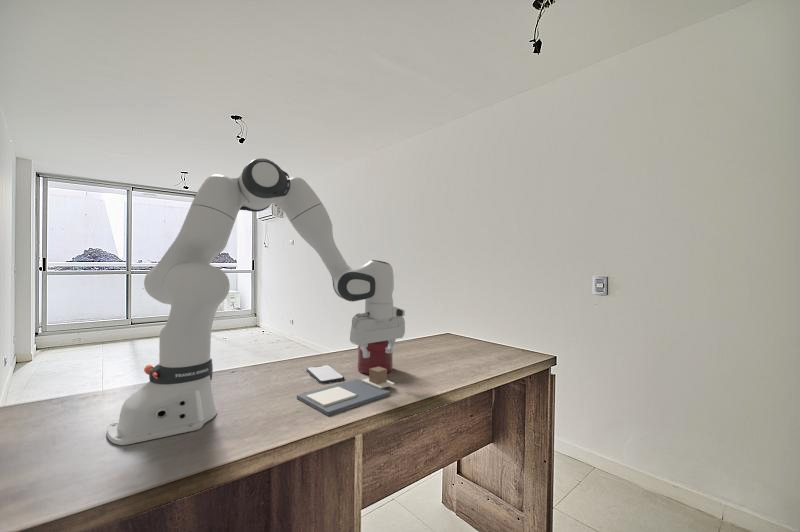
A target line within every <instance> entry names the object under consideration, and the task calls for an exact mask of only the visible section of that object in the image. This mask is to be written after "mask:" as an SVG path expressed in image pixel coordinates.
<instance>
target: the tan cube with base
mask: <svg viewBox="0 0 800 532" xmlns="http://www.w3.org/2000/svg"><path fill="white" fill-rule="evenodd" d="M361 380H362V382H364V383H366V384H369V385H371V386H374V387H377V388H379V389H385V388H387V387H388V388H389V387H391V386H394V385H395V382H392V381H390V380H389V379H388V373H387V369H385V368H382V367H375V368H371V369H369V374H368V377H367V378H363V379H361Z"/></svg>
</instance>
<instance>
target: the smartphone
mask: <svg viewBox="0 0 800 532" xmlns="http://www.w3.org/2000/svg"><path fill="white" fill-rule="evenodd" d="M307 372H308V373H309V374H310V375H309V374H308V373H307ZM306 373H307V374H308V375H309V376H310V377H312V378H313V379H314V380H315V379H316V380H317V381H318V382H317V381H316V380H315V381H316V382H317V383H319V384H320V383H326V384H330V383H329V382H332V383H336V381H338V382H342V381H341V380H343V381H345V376H344V375H342V374H341V373H340V372H339V371H337V370H336V369H334V367H332V366H331V365H329V364H324V365H318V366H316V365H315V366H311V367H307V368H306Z"/></svg>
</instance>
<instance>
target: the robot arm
mask: <svg viewBox="0 0 800 532" xmlns="http://www.w3.org/2000/svg"><path fill="white" fill-rule="evenodd" d="M196 192H197V193H196V194H195V195H194V197H193V200H192V202H191V204H190V207H189V209H188V211H187V214H186V217H185V219H184V221H183V223H182V226H181V228H180V230H179V232H178V234H177V236H176V237H175V239H174V241H173V242H171V245H170V246H169V247H168V249H167V250H166V252H165V253H164V255H163V256H162V257H161V259H160V260H159V261H158V263H157V264H156V265H154V266H153V267H152V268H150V270H148V271H147V273H146V275H145V278H144V281H143V284H144V285H143V286H144V289H145V292H146V293H147V294H148V295H149V296H150V298H152V299H154V300H156V301H157V302H159V303H162V304H166V305H170V311H169V315H168V318H167V322H166V323H165V325H164V327H162V328H161V330H160V332H159V346H158V347H159V360H158V361H159V363H158V364H156V365H155V366H153V365H152V364H147V365H145V366H144V367H143V368H144V369H143V372H144V373H145V374H146V375H149V376H148V378H149V381H148V382H147V383H145V384H144V385H143V386H141V388H140V389H138V390H137V391H135V392H134V393H133V394H132V395H130V396H129V397H127V398H126V400H124V401H123V404H122V406H121V409H120V413H119V417H118V418H119V419H116V420H113V421H112V422H111V423H110V424H109V425H108V426H107V431H106V436H107V439H108V441H110V442H111V443H113V444H115V445H119V446H126V445H127V446H128V445H131V444H136V443H142V442H146V441H151V440H152V441H153V440H155V439H160V438H164V437H165V438H166V437H169V436H174V435H179V434H183V433H189V432H194V431H199V430H200V429H201V428H203V426H204V425H205V424H206V423H207V422H209V421H210V420H212V419H214V417H216V416H217V413H218V410H217V408H216V405H215V401H214V396H213V394H214V393H213V389H212V380H213V375H214V373H213V372H214V369H213V368H214V367H213V366H214V365H213V359H212V358H211V343H212V342H211V339H212V326H213V322H214V319H215V316H216V314H217V310H218V309H219V306H220V304H222V303H223V302H224V301H225V300H226V299H227V297H228V294H229V291H230V280H229V278H228V275H227V274H226V272H225V271H223V270H222V269H221V268H218V267H216V266H214V265H211V263H212V262H213V260H214V259H215V258H216V257H218V255H220V254H221V253H222V252H223V251H224V250H225V248H226V247H227V244H228V242H229V239H230V236H231V233H232V230H233V227H234V224H236V223H235V222H236V219H237V216H238V214H239V212H240V211H247V212H248V211H249V212H254V213H259V212H262V211H265V210H267V209H268V208H269V207H270V206H271V205H275V206H276V207H278V208H280V210H282V211H283V213H285V215H286V217H287V219H288V220H289V221H288V222H290V224H291V225H292V227H293V228H294V230H295V231H296V232H297V233H298V235H299V236H300V237H301V238H302V239H303V240H304V241H305V242H306V243H307V244H308V245H309V246H310V247H311V248H313V250H314V251H315V252H316V253H317V254H318V256H319V257H320V258H321V260H322V262H323V264H324V266H325V267H326V269H327V270H328V272H329V274H330V276H331V279H332V281H331V282H332V287H333V290H334V292H335V294H336V295H337V296H338V297H339V298H340V299H343V300H344V301H348V302H352V303H354V302H358V301H364V300H365V304H364V305H365V306H364V308H365V309H364V312H363V313H360V312H359V313H356V314H355V315H354V316H353V317H352V319H351V326H350V327H351V328H350V333H349V341H350V343H351V344H352V345H356V346H359V345H360V348H361V350H362V352H363V358H369V357H370V352H368V351H367V348H366V347H368V343H374V342H380V341H386V340H388V342H389V344H388V347H386V353H388V354H389V353H392V348H393V349H394V346H395V344H396V341H397V339H403V337H405V333H406V332H405V331H406V321H405V318H404V317H405V314H406V310H404V309H402V308H400V307H396V306H394V300H393V293H394V289H395V288H394V287H395V283H394V282H395V281H394V279H395V278H394V277H395V276H394V268H393V266H392V265H391V264H390V263H389V262H387V261H382V260H376V259H370V260H368V261H367V262H366V263H364V264H362V265H360V266H357V267H356V268H351V266H349V265H348V263H347V262H346V260H345V259H344V257H343V255H342V253H341V251H340V250H339V248H338V247H337V244H336V243H335V239H334V235H333V234H334V232H333V224H332V220H331V218H330V215H329V213H328V211H327V209H326V207H325V206H324V204H323V202H322V200H320V198H319V196H318V195H317V193H316V192H315V190H314V189H313V188H312V187H311V186H310V185H309V184H308V182H307V181H306V180H304V179H303V178H301V177H299V176H295V177H293V176H292V177H290V176H289V173H288V172H286V171H284V170H283V169H282V168H281V167H280V166H279V165H278V164H276V163H275V162H273V160H271V159H267V158H255V159H253V160H251V161H250V162H248V163H247V164H246V165H245V166H244V167H243V170H242V172H241V173H240V175H239V176H238V177H234V178H233V177H232V178H231V177H229V176H226V175H222V174H212V175H210V176H208V177H207V178H206V179H205V180H204V182H202V184H201V186H200V187H199V189H198V190H197V191H196Z"/></svg>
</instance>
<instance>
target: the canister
mask: <svg viewBox="0 0 800 532" xmlns="http://www.w3.org/2000/svg"><path fill="white" fill-rule="evenodd" d="M388 344H389V342H388V340H386V341H380V342H374V343H368V347H366V348H367V351H368V352H370V357H369V358H363V352H362V350H361V348H360V345H357V354H358V355H357V369H358V372H360V373H361V374H366V375H369V369H371V368H375V367H382V368H385V369H387V374H388V373H390V372H392V371H393V367H394V365H393V364H394V363H393V357H394V356H393V351H394V350H393V349H394V347H393V348H392V353H389V354H388V353H386V347H388Z"/></svg>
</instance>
